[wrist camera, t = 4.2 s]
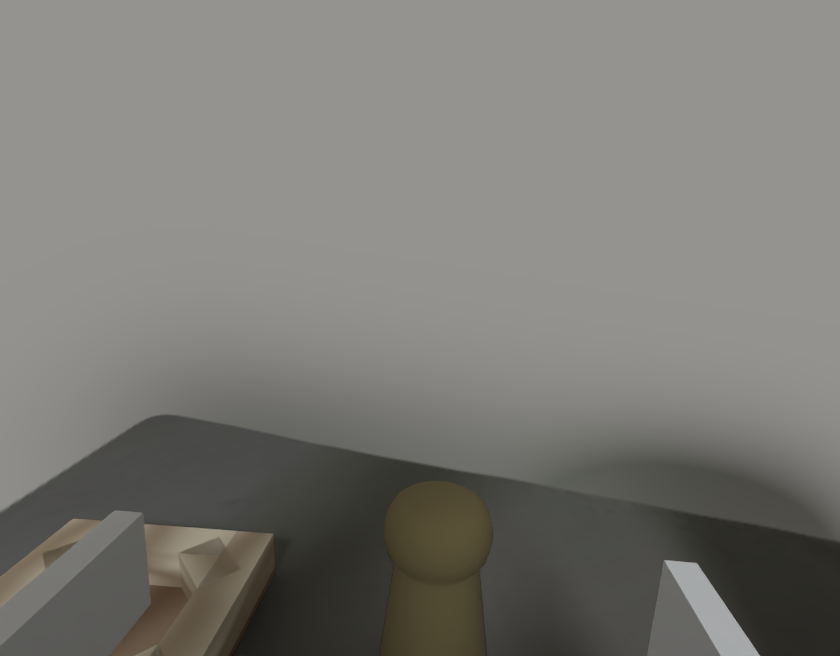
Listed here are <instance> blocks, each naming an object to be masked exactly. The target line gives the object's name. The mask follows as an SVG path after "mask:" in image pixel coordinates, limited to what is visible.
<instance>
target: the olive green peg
mask: <svg viewBox="0 0 840 656" xmlns="http://www.w3.org/2000/svg"><path fill="white" fill-rule="evenodd" d="M492 540H493V527H492V522H491V518H490V513H489V510H488V508H487V507H486V505H485V503H484V502H483V501H482V499H481V498H480V497H479V496H478V494H476V493H475V492H473V491H472V490H470V489H469V488H466V487H464V486H461V485H459V484H456V483H452V482H447V481H426V482H420V483H417V484H414V485H411V486H409V487H406V488H405V489H404V490H402V491H401V492H399V493H398V495H397V496H396V497H395V499H394V500H393V502H392V503H391V505H390V506H389V508H388V510H387V514H386V517H385V525H384V541H385V544H386V548H387V551H388V554H389V556H390V559H391V561H392V562H393V563H394V568H393V574H392V580H391V587H390V593H389V599H388V605H387V611H386V617H385V623H384V629H383V635H382V641H381V647H380V653H379V656H487V649H486V637H485V626H484V614H483V603H482V591H481V580H480V568H481V567H482V566H483V565H484V564H485V563H486V560H487V557H488V555H489V552H490V548H491V545H492Z"/></svg>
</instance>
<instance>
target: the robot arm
mask: <svg viewBox="0 0 840 656" xmlns="http://www.w3.org/2000/svg"><path fill="white" fill-rule="evenodd" d="M150 604H151V597H150V586H149V575H148V563H147V552H146V541H145V529H144V518H143V513H139V512H128V511H117V510H115V511H114V512H112V513H111V514H110V515H109V516H108V517H106V518H105V519H104V520H103V521H102V522H101V523H99V524H98V525H97V526H96V527H95V528H93V529H92V530H91V531H90V532H89V533H88V534H86V535H85V536H84V537H83V538H82V539H81V540H79V541H78V542H77V543H76V544H75V545H73V546H72V547H71V548H70V549H69V550H68V551H66V552H65V553H64V554H63V555H62V556H61V557H59V558H58V559H57V560H56V561H55V562H53V563H52V564H51V565H50V566H49V567H48V568H46V569H45V570H44V571H43V572H42V573H40V574H39V575H38V576H37V577H36V578H35V579H33V580H32V581H31V582H30V583H29V584H28V585H26V586H25V587H24V588H23V589H22V590H20V591H19V592H18V593H17V594H16V595H15V596H13V597H12V598H11V599H10V600H9V601H8V602H6V603H5V604H4V605H3V606H2V607H0V656H109V655H110V654H111V653H112V652H113V650H114V649H115V648H116V647H117V645H118V644H119V643H120V642H121V640H122V639H123V638H124V637H125V635H126V634H127V633H128V632H129V630H130V629H131V628H132V627H133V625H134V624H135V623H136V622H137V620H138V619H139V618H140V617H141V615H142V614H143V613H144V612H145V610H146V609H147V608H148V607H149V605H150ZM647 655H648V656H760V655H759V654H758V652H757V651H756V649H755V648H754V646H753V645H752V643H751V642H750V640H749V639H748V637H747V636H746V635H745V633H744V632H743V630H742V629H741V627H740V626H739V624H738V623H737V621H736V620H735V618H734V617H733V615H732V614H731V613H730V611H729V610H728V608H727V607H726V605H725V604H724V602H723V601H722V599H721V598H720V596H719V595H718V593H717V592H716V591H715V589H714V588H713V586H712V585H711V583H710V582H709V580H708V579H707V577H706V576H705V574H704V573H703V571H702V570H701V569H700V567H699V566H698V564H697V563H690V562H679V561H668V560H664V563H663V569H662V574H661V580H660V586H659V591H658V597H657V603H656V608H655V614H654V620H653V625H652V631H651V637H650V642H649V648H648V653H647Z"/></svg>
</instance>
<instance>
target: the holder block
mask: <svg viewBox="0 0 840 656" xmlns="http://www.w3.org/2000/svg"><path fill="white" fill-rule="evenodd" d="M101 522H102V521H97V520H84V519H72V520H71V521H70V522H69V523H67V524H66V525H65V526H64V527H62V528H61V529H60V530H59V531H57V532H56V533H55V534H54V535H52V536H51V537H50V538H49V539H47V540H46V541H45V542H43V543H42V544H41V545H40V546H38V547H37V548H36V549H35V550H33V551H32V552H31V553H30V554H28V555H27V556H26V557H25V558H23V559H22V560H21V561H20V562H18V563H17V564H16V565H15V566H13V567H12V568H11V569H10V570H8V571H7V572H6V573H5V574H3V575H2V576H1V577H0V607H2V606H3V605H4V604H5V603H6V602H8V601H9V600H10V599H11V598H12V597H13V596H15V595H16V594H17V593H18V592H19V591H20V590H22V589H23V588H24V587H25V586H26V585H28V584H29V583H30V582H31V581H32V580H33V579H35V578H36V577H37V576H38V575H39V574H40V573H42V572H43V571H44V570H45V569H46V568H48V567H49V566H50V565H51V564H52V563H53V562H55V561H56V560H57V559H58V558H59V557H61V556H62V555H63V554H64V553H65V552H66V551H68V550H69V549H70V548H71V547H72V546H73V545H75V544H76V543H77V542H78V541H79V540H81V539H82V538H83V537H84V536H85V535H86V534H88V533H89V532H90V531H91V530H92V529H93V528H95V527H96V526H97V525H98V524H99V523H101ZM144 529H145V541H146V552H147V563H148V575H149V586H150V597H151V604H150V605H149V607H148V608H147V609H146V610H145V612H144V613H143V614H142V615H141V617H140V618H139V619H138V620H137V622H136V623H135V624H134V625H133V627H132V628H131V629H130V630H129V632H128V633H127V634H126V635H125V637H124V638H123V639H122V640H121V642H120V643H119V644H118V645H117V647H116V648H115V649H114V650H113V652H112V653H111V654H110V655H109V656H233V655H234V653H235V651H236V649H237V647H238V645H239V643H240V641H241V639H242V637H243V635H244V633H245V631H246V629H247V627H248V625H249V623H250V622H251V620H252V618H253V616H254V614H255V612H256V610H257V608H258V606H259V604H260V602H261V600H262V598H263V596H264V594H265V592H266V590H267V588H268V586H269V584H270V582H271V580H272V579H273V577H274V575H275V553H274V534H270V533H256V532H243V531H230V530H217V529H203V528H190V527H177V526H163V525H150V524H144Z"/></svg>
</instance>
